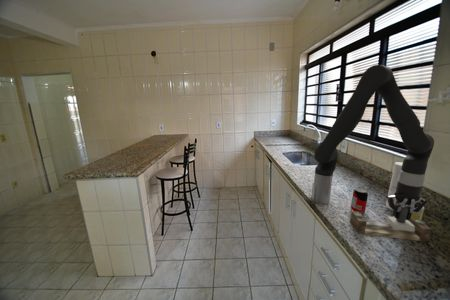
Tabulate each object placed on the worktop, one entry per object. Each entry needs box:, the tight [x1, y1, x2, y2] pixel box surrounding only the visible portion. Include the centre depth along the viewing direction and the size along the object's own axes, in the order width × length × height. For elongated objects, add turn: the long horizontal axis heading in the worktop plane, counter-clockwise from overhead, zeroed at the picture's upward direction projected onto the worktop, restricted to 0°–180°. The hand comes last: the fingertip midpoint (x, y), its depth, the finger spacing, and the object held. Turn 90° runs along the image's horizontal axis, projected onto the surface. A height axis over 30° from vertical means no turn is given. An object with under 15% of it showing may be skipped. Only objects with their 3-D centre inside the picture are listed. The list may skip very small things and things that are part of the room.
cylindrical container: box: [385, 161, 403, 211], centre depth 100 cm, size 7×7×25 cm
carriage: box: [385, 205, 415, 232], centre depth 82 cm, size 7×6×10 cm
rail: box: [349, 210, 432, 243], centre depth 84 cm, size 26×8×6 cm, turn 76°
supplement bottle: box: [411, 202, 425, 221], centre depth 91 cm, size 6×6×10 cm
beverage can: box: [350, 187, 369, 214], centre depth 100 cm, size 6×6×12 cm
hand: (401, 218), depth 82 cm, fingers closed on carriage, 3 cm apart
